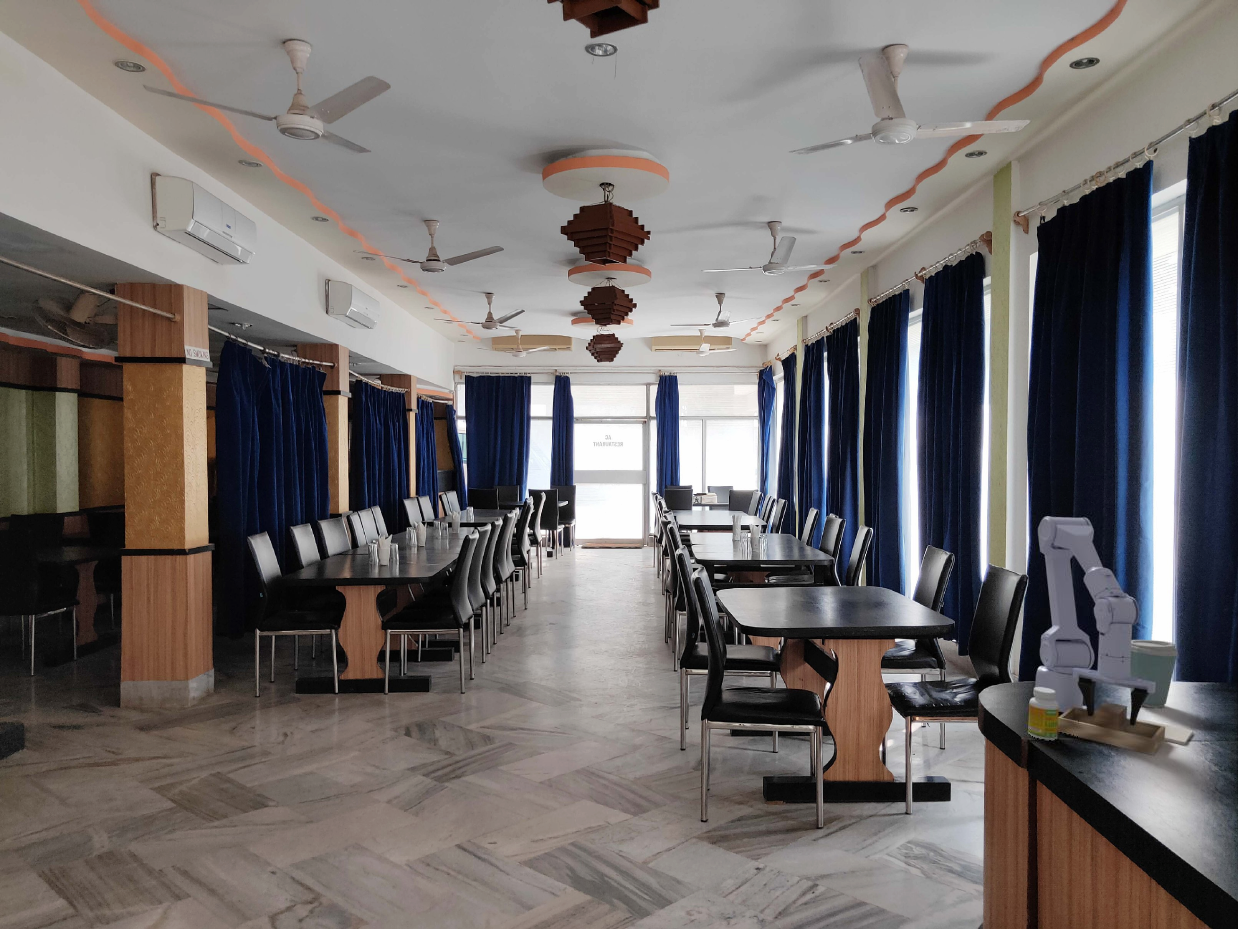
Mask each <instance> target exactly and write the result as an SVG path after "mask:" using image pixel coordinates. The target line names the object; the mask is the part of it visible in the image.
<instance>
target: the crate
mask: <svg viewBox="0 0 1238 929" xmlns="http://www.w3.org/2000/svg"><path fill="white" fill-rule="evenodd" d="M1078 721H1079V722H1078ZM1095 722H1096V710H1094V714H1093V715H1092V716H1088V713H1087V709H1083V708H1078V707H1074V706H1072V707H1071V708H1070V709H1068V710H1067V711H1066V712H1065V713H1063V712H1062V714H1061V715H1059V716H1058V733H1060V732H1062V733H1061V734H1064V733H1066V734H1065V735H1069V734H1071V735H1070V736H1073V735H1074V736H1073V737H1077V736H1078V737H1077V738H1081V739H1086V740H1089V739H1090V741H1094V742H1098V743H1101V744H1107V745H1110V744H1111V745H1110V746H1115V747H1119V748H1123V749H1127V750H1132V751H1135V752H1139V753H1144V754H1147V755H1152V756H1155V754H1156V753H1157V751H1158V750H1159V749H1160V748H1161V747H1162V745H1163V744H1164V743H1165V742H1166V741H1165V726H1160V725H1156V724H1151V723H1146V722H1142V721H1137V720H1136V724H1135V725H1134V726H1133V725H1130V718H1128V717H1127V720H1126V732H1122V731H1117V730H1113V729H1109V728H1104V727H1100V726H1096V725H1095Z"/></svg>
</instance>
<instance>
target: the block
mask: <svg viewBox="0 0 1238 929" xmlns="http://www.w3.org/2000/svg"><path fill="white" fill-rule="evenodd" d="M1095 711H1096V722H1095V725H1096V726H1100V727H1104V728H1109V729H1113V730H1117V731H1122V732H1126V720H1127V718H1128V717H1127V716H1128V706H1127V705H1123V704H1118V703H1113V702H1110V701H1105V702H1103V703H1102V704H1100V706H1098V707H1097V708H1096V710H1095Z"/></svg>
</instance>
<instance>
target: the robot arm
mask: <svg viewBox="0 0 1238 929" xmlns="http://www.w3.org/2000/svg"><path fill="white" fill-rule="evenodd" d="M1094 533H1095V531H1094V528H1093V525H1092V523H1091V521H1090V519H1088V517H1085V516H1084V517H1061V516H1058V517H1056V516H1048V515H1047V516H1044V517H1043V518H1042V519H1041V520H1040V523H1039V525H1038V528H1037V536H1038V543H1039V544H1038V545H1039V552H1040V553H1042V554H1043V555H1044V558H1045V559H1044V560H1045V567H1046V568H1045V569H1046V579H1047V587H1048V597H1049V607H1050V616H1051V625H1052V626H1051V627H1050V628H1049V629H1048V630H1046V631H1045V632H1044V633H1043V634H1041V637H1040V648H1039V656H1040V660H1041V662H1042V664H1043V665H1040V666H1038V668H1037V670H1036V674H1035V687H1044V688H1049V689H1052V690H1054V691H1055V699H1054V701H1056V702H1057V703H1058V705H1059V712H1060V713H1062V714H1063V713H1065V712H1066V711H1067V710H1068V709H1070V708H1071V707H1072V706H1074V707H1078V708H1083V709H1087V713H1088V716H1092V715H1093V714H1094V711H1095V692H1096V684H1097V683H1100V684H1104V685H1105V684H1106V685H1112V686H1116V687H1121V688H1122V687H1123V688H1127V689H1130V688H1131V689H1134V690H1133V691H1132V692H1131V691H1130V705H1131V708H1130V717H1129V719H1130V725H1133V726H1134V725H1135V724H1136V720H1137V719H1138V716H1139V713H1140V710H1141V708H1142V707H1143V706H1142V704H1143V702H1144V701H1145V699H1146V697H1147V696H1148V694H1149V693H1154V692H1155V682H1151V681H1146V680H1142V679H1139V678H1135V677H1131V676H1130V658H1131V640H1132V636H1133V634H1132V633H1133V626H1134V625H1136V624H1137V623H1138V621H1139V618H1140V607H1139V604H1138V602H1137V600H1136V599H1135V598H1134V597H1132V596H1129V594H1128V593H1126V592H1124V591H1123V590H1122V588H1121V586H1120V583H1119V582H1118V580H1117V578H1116V577H1115V575H1114V573H1113V571H1112V570H1111V569H1109V568H1106V567H1103V564H1102V561H1101V560H1100V557H1099V555H1098V552H1097V550H1096V548H1095V545H1094V542H1093V540H1094ZM1073 556H1074V557H1075V559H1076V560H1077V562H1078V563H1079V565H1080V566H1081V568H1082V569H1083V571H1084V573H1085V575H1084V577H1083V582H1084V585H1085V586H1086V588H1087V590H1088V591H1089V594H1090V596H1091V598H1092V599H1093V602H1094V603H1095V605H1094V607H1093V615H1094V617H1095V620H1096V629H1097V631H1098V632H1099V634H1098V653H1097V654H1098V657H1097V670H1096V669H1095V670H1094V669H1091V668H1092V667H1093V665H1094V661H1095V652H1094V649H1093V647H1092V645H1091V641H1090V636H1089V635H1088V634H1087V633H1086V632H1084V631H1083V630H1082V629H1080V628H1079V626H1078V619H1077V611H1076V601H1075V595H1074V594H1075V593H1074V586H1073V575H1072V568H1071V559H1072V557H1073ZM1063 640H1064V641H1063ZM1035 687H1034V688H1035ZM1083 701H1084V702H1083ZM1083 703H1084V704H1085V705H1084V704H1083Z"/></svg>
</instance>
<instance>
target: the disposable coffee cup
mask: <svg viewBox="0 0 1238 929" xmlns="http://www.w3.org/2000/svg"><path fill="white" fill-rule="evenodd" d="M1178 652H1179V651H1178V650H1177V649H1176V644H1175V643H1173V642H1170V641H1165V640H1155V639H1131V658H1130V676H1131V677H1135V678H1139V679H1142V680H1146V681H1151V682H1155V692H1154V693H1149V694H1148V696H1147V697H1146V699H1145V701H1144V702H1143V704H1142V706H1141V707H1147V708H1154V709H1163V708H1164V707H1165V705H1166V704H1167V700H1168V696H1169V691H1170V686H1171V682H1172V679H1173V674H1174V669H1175V666H1176V662H1177V657H1178V655H1179V653H1178ZM1129 689H1130V693H1131V692H1132V691H1133V690H1134V689H1131V688H1129Z"/></svg>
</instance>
